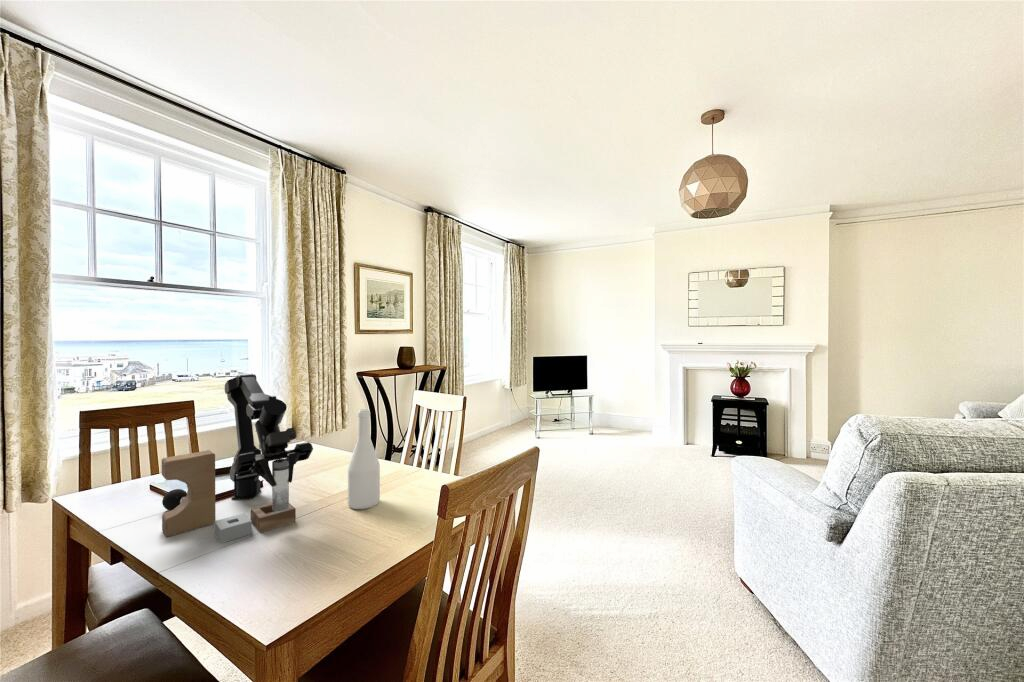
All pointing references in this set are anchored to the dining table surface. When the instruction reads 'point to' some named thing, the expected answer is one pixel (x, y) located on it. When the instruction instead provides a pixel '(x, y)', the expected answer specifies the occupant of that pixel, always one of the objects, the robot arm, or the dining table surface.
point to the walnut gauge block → (271, 517)
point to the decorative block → (191, 492)
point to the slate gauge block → (232, 527)
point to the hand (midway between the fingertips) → (282, 483)
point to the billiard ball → (173, 498)
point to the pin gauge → (280, 485)
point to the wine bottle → (363, 468)
